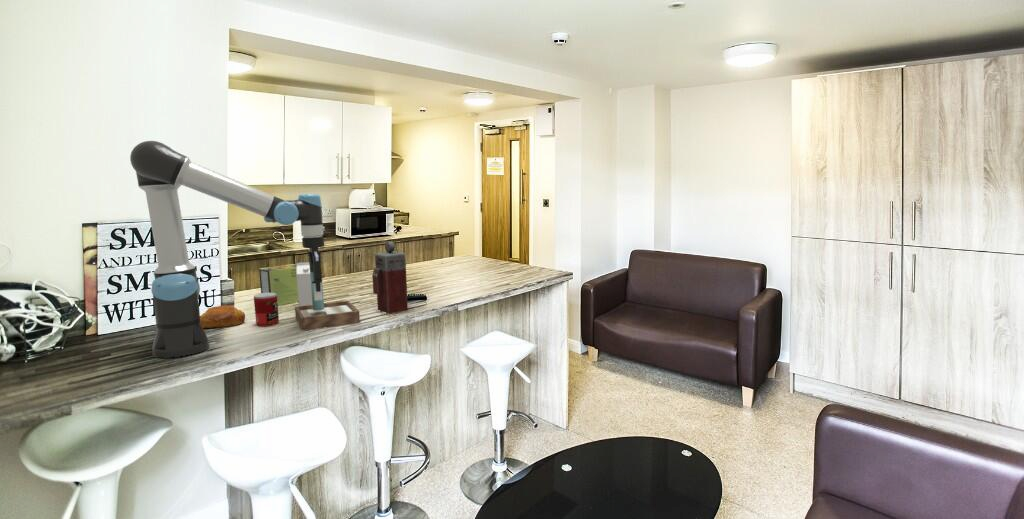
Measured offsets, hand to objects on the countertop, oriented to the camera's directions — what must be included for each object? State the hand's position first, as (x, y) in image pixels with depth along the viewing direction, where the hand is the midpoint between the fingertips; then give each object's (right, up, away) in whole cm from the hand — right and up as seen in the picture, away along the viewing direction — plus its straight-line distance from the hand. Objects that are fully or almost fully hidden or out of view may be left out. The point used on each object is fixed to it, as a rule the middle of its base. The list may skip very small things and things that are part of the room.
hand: (317, 298), depth 196 cm
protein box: (-28, -4, +35) cm, 45 cm away
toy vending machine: (+23, -6, +17) cm, 29 cm away
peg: (0, -4, +1) cm, 4 cm away
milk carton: (-12, -6, +24) cm, 28 cm away
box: (+3, -8, +3) cm, 9 cm away
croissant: (-35, -10, 0) cm, 37 cm away
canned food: (-18, -9, -1) cm, 21 cm away
